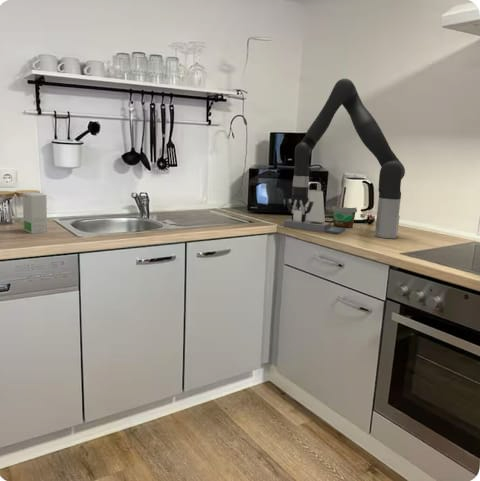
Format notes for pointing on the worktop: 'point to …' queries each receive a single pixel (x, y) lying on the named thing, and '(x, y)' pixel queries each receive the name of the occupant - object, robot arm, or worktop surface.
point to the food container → (343, 216)
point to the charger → (297, 215)
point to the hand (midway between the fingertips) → (298, 221)
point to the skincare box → (35, 212)
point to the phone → (335, 230)
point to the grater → (316, 204)
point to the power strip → (307, 225)
